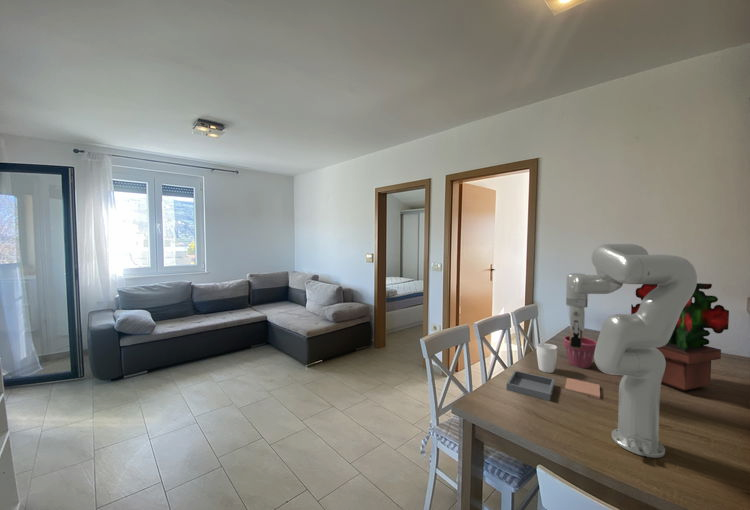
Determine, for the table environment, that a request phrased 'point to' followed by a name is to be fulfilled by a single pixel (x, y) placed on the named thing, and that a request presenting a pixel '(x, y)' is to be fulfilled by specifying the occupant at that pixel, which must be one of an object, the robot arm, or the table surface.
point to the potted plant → (691, 340)
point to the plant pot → (580, 352)
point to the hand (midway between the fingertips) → (575, 344)
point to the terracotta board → (583, 387)
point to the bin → (531, 385)
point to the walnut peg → (580, 337)
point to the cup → (546, 357)
